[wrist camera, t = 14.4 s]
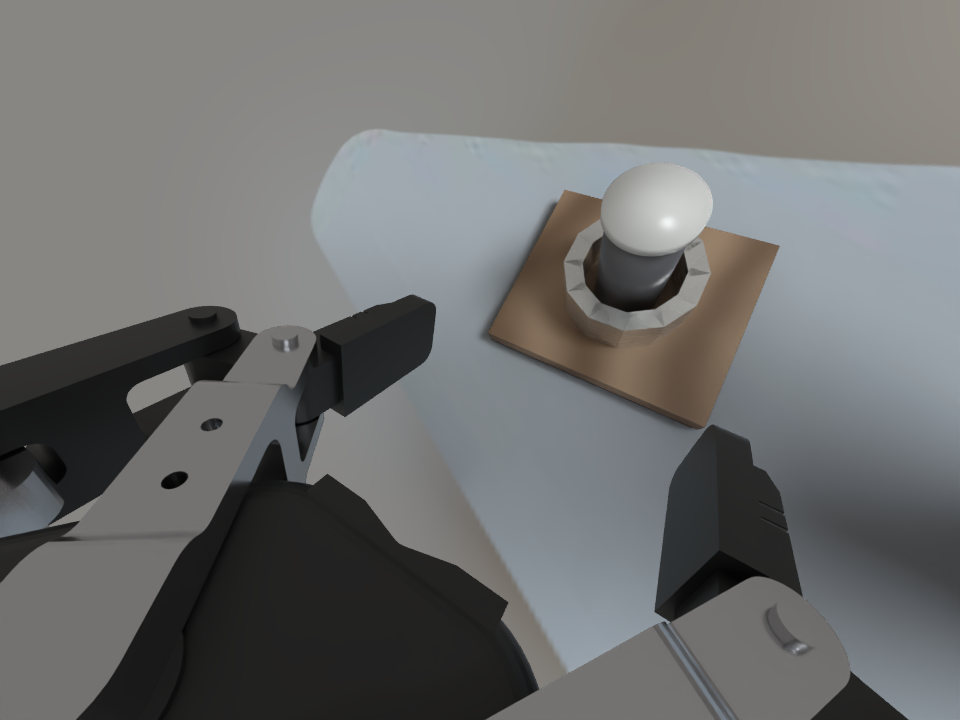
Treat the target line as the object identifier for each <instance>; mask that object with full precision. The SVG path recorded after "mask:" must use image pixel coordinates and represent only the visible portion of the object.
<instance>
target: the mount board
mask: <svg viewBox="0 0 960 720" xmlns="http://www.w3.org/2000/svg"><path fill="white" fill-rule="evenodd" d="M601 205H602V199H598V198H594V197H590V196H586V195H583V194H579V193H575V192H571V191H567V190H564V192H563V194H562V196H561V198H560V200H559V202H558V203H557V205H556V207H555V209H554V211H553V213H552V215H551V216H550V218H549V220H548V222H547V224H546V226H545V228H544V230H543V231H542V233H541V235H540V237H539V239H538V241H537V243H536V244H535V246H534V248H533V250H532V252H531V254H530V256H529V257H528V259H527V261H526V263H525V265H524V267H523V269H522V270H521V272H520V274H519V276H518V278H517V280H516V282H515V283H514V285H513V287H512V289H511V291H510V293H509V295H508V296H507V298H506V300H505V302H504V304H503V306H502V308H501V310H500V311H499V313H498V315H497V317H496V319H495V321H494V323H493V324H492V326H491V328H490V330H489V332H488V334H489V335H490V337H491V339H492V340H495V341H497V342H499V343H501V344H504V345H506V346H508V347H511V348H513V349H515V350H517V351H520V352H522V353H524V354H526V355H529V356H531V357H533V358H536V359H538V360H540V361H542V362H545V363H547V364H549V365H551V366H554V367H556V368H558V369H561V370H563V371H565V372H567V373H570V374H572V375H574V376H576V377H579V378H581V379H583V380H585V381H588V382H590V383H592V384H595V385H597V386H599V387H601V388H604V389H606V390H608V391H610V392H613V393H615V394H617V395H620V396H622V397H624V398H626V399H629V400H631V401H633V402H635V403H638V404H640V405H642V406H645V407H647V408H649V409H651V410H654V411H656V412H658V413H660V414H663V415H665V416H667V417H670V418H672V419H674V420H676V421H679V422H681V423H683V424H685V425H688V426H690V427H692V428H694V429H701V428H704V427H705V426H706V424H707V421H708V419H709V416H710V414H711V411H712V409H713V407H714V404H715V402H716V399H717V397H718V394H719V392H720V390H721V387H722V385H723V382H724V380H725V378H726V375H727V373H728V370H729V368H730V365H731V363H732V361H733V358H734V356H735V353H736V351H737V348H738V346H739V344H740V341H741V339H742V336H743V334H744V331H745V329H746V327H747V324H748V322H749V319H750V317H751V314H752V312H753V310H754V307H755V305H756V302H757V300H758V297H759V295H760V293H761V290H762V288H763V285H764V283H765V280H766V278H767V276H768V273H769V271H770V268H771V266H772V263H773V261H774V259H775V256H776V254H777V251H778V249H779V246H778V245H774V244H771V243H767V242H763V241H759V240H755V239H751V238H747V237H744V236H740V235H736V234H732V233H728V232H724V231H721V230H717V229H713V228H709V227H704V229H703V231H702V232H701V234H700V235H699V236H698V237H699V238H700V239H701V240H702V241H703V243H704V247H705V251H706V255H707V259H708V263H709V268H710V272H711V275H710V277H709V279H708V281H707V284H706V286H705V288H704V290H703V293H702V295H701V297H700V300H699V302H698V304H697V306H696V307H695V308H694V310H693V311H692V312H691V313H690V315H689V316H688V317H687V318H686V320H685V321H684V322H683V323H682V325H681V326H680V327H679V328H677V329H676V330H674V331H673V332H671V333H669V334H668V335H666V336H665V337H663V338H662V339H660V340H659V341H657V342H656V343H654V344H653V345H649V346H638V347H627V348H614V347H612V346H609V345H607V344H604V343H602V342H599V341H597V340H594V339H592V338H589V337H587V336H585V335H584V333H583V332H582V331H581V330H580V328H579V327H578V326H577V325H576V324H575V322H574V321H573V320H572V319H571V317H570V316H569V315H568V314H567V308H566V299H565V289H564V260H565V258H566V256H567V254H568V252H569V250H570V249H571V247H572V245H573V243H574V241H575V239H576V237H577V235H578V233H580V232H581V231H583V230H584V229H586V228H587V227H589V226H590V225H592V224H593V223H595V222H596V221H598V220H599V219H600V214H601ZM597 269H598V264H597V265H595V266H594V267H592V268H591V269H590V270H589V272H588V274H587V276H586V278H585V285H586V286H587V287H588V289H589V290H590V291H591V292H592V293H593V294H594V288H595V282H596V276H597ZM672 297H673V296H672V291H671V286H670V281H669V280H668V281H667V283H666V285H665V287H664V289H663V291H662V292H661V294H660V296H659V298H658V300H657V302H656V303H655V305H654V307H653V308H652V310H654V309H657V308H658V307H660V306H661V305H663V304H664V303H666V302H667V301H669V300H670V299H672Z"/></svg>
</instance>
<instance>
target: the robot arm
mask: <svg viewBox="0 0 960 720" xmlns="http://www.w3.org/2000/svg"><path fill="white" fill-rule="evenodd" d="M435 316H436V307H435V305H434V304H433V303H432V302H429V301H427V300H425V299H422V298H420V297H418V296H415V295H409V296H406V297H404V298H402V299H399V300H397V301H395V302H392V303H387V304H381V305H376V306H374V307H371V308H369V309H366V310H364V312H359V313H357V314H355V315H353V316H352V317H347V318H345V319H343V320H340V321H338V322H335V323H333V324H331V325H328V326H326V327H324V328H321V329H319V330H317V331H314V332H312V331H311V330H308V329H306V328H303V327H299V326H278V327H273V328H270V329H267V330H264V331H262V332H260V333H259V334H257V333H253V332H249V331H245V330H241V329H240V328H239V323H238V320H237V315H236V313H235V312H234V311H232V310H231V309H228V308H224V307H218V306H201V307H194V308H190V309H186V310H182V311H179V312H176V313H173V314H169V315H166V316H163V317H159V318H156V319H153V320H150V321H146V322H143V323H140V324H136V325H133V326H130V327H127V328H123V329H120V330H117V331H113V332H110V333H107V334H104V335H100V336H97V337H93V338H90V339H87V340H84V341H81V342H77V343H74V344H71V345H67V346H64V347H61V348H57V349H54V350H51V351H47V352H44V353H41V354H37V355H34V356H31V357H28V358H24V359H21V360H18V361H15V362H11V363H8V364H5V365H1V366H0V720H908V719H907V718H906V717H904V716H903V715H902V714H901V713H900V712H898V711H897V710H896V709H895V708H894V707H892V706H891V705H890V704H889V703H888V702H886V701H885V700H884V699H883V698H882V697H880V696H879V695H878V694H877V693H876V692H874V691H873V690H872V689H871V688H869V687H868V686H867V685H866V684H865V683H863V682H862V681H861V680H860V679H859V678H858V677H857V676H856V675H854V674H853V673H852V672H851V671H850V664H849V660H848V657H847V654H846V652H845V649H844V647H843V645H842V643H841V641H840V640H839V638H838V636H837V635H836V633H835V632H834V630H833V629H832V627H831V626H830V625H829V623H828V622H827V621H826V620H825V618H824V617H823V616H822V615H821V614H820V613H819V612H818V611H817V610H816V609H815V608H814V607H813V606H812V605H811V604H810V603H809V602H808V601H807V600H805V599H804V598H803V596H802V592H801V587H800V582H799V578H798V573H797V569H796V564H795V560H794V555H793V551H792V546H791V542H790V537H789V534H788V533H786V532H787V530H788V528H787V523H786V519H785V516H783V513H784V510H783V505H782V501H781V496H780V492H779V491H778V489H777V488H776V486H775V485H774V483H773V482H772V480H771V479H770V477H769V476H768V474H767V473H766V471H764V470H762V469H760V468H757V467H755V466H753V460H752V453H751V447H750V442H749V440H748V439H745V438H743V437H741V436H738V435H736V434H734V433H731V432H729V431H727V430H725V429H722V428H720V427H718V426H715V425H711V426H709V427H708V428H707V429H706V430H705V432H704V433H703V434H702V436H701V437H700V438H699V440H698V441H697V442H696V444H695V445H694V446H693V448H692V449H691V450H690V452H689V453H688V455H687V456H686V457H685V459H684V460H683V461H682V463H681V464H680V465H679V467H678V468H677V470H676V472H675V474H674V476H673V478H672V481H671V484H670V488H669V495H668V503H667V512H666V520H665V528H664V537H663V545H662V553H661V562H660V570H659V578H658V587H657V595H656V603H655V613H657V614H659V615H660V616H662V617H663V618H665V619H667V620H668V621H670V622H671V623H669V624H666V623H665V622H661V623H659V624H656V625H654V626H652V627H651V628H649V629H647V630H645V631H643V632H641V633H640V634H638V635H636V636H634V637H633V638H631V639H629V640H627V641H625V642H624V643H622V644H620V645H618V646H616V647H615V648H613V649H611V650H609V651H607V652H606V653H604V654H602V655H600V656H599V657H597V658H595V659H593V660H591V661H590V662H588V663H586V664H584V665H582V666H581V667H579V668H577V669H575V670H573V671H572V672H570V673H568V674H566V675H565V676H563V677H561V678H559V679H557V680H556V681H554V682H552V683H550V684H548V685H547V686H545V687H543V688H541V689H539V687H538V684H537V682H536V679H535V677H534V674H533V671H532V669H531V666H530V664H529V662H528V660H527V658H526V656H525V654H524V653H523V650H522V649H521V647H520V645H519V644H518V642H517V640H516V639H515V637H514V636H513V634H512V633H511V632H510V630H509V629H508V628H507V626H506V625H505V624H504V623H503V621H502V620H501V618H502V616H503V613H504V611H505V608H506V607H507V604H508V602H507V601H506V600H504V599H503V598H502V597H500V596H499V595H497V594H496V593H494V592H493V591H492V590H490V589H489V588H487V587H486V586H485V585H483V584H482V583H480V582H479V581H478V580H476V579H475V578H473V577H472V576H471V575H469V574H468V573H466V572H465V571H464V570H462V569H461V568H459V567H458V566H456V565H454V564H451V563H448V562H446V561H443V560H440V559H438V558H435V557H432V556H429V555H427V554H424V553H421V552H418V551H415V550H413V549H410V548H407V547H405V546H403V545H401V544H399V543H398V542H397V541H396V540H395V539H394V538H393V537H392V535H391V534H390V533H389V531H388V530H387V529H386V528H385V526H384V525H383V523H382V522H381V521H380V519H379V518H378V517H377V516H376V514H375V513H374V512H373V510H372V509H371V508H370V506H369V505H368V504H367V502H366V501H365V500H364V499H362V498H361V497H359V496H358V495H356V494H355V493H354V492H352V491H351V490H350V489H348V488H347V487H345V486H344V485H343V484H341V483H339V482H338V481H337V480H335V479H334V478H333V477H331V476H330V475H328V474H327V475H325V476H324V477H323V478H322V479H320V480H319V481H318V482H317V483H315V484H314V485H310V484H306V477H307V472H308V469H309V466H310V463H311V459H312V456H313V453H314V450H315V446H316V444H317V441H318V437H319V434H320V431H321V428H322V425H323V422H324V412H325V411H326V410H328V409H329V408H331V409H333V410H334V411H336V412H338V413H339V414H341V415H342V416H344V417H346V416H347V415H349V414H350V413H352V412H353V411H354V410H356V409H357V408H359V407H360V406H362V405H363V404H365V403H366V402H367V401H369V400H370V399H372V398H373V397H374V396H376V395H377V394H379V393H381V392H382V391H383V390H385V389H386V388H388V387H389V386H390V385H392V384H394V383H395V382H396V381H398V380H399V379H401V378H402V377H404V376H405V375H407V374H408V373H409V372H411V371H412V370H414V369H415V368H417V367H418V366H420V365H421V364H422V363H424V362H425V360H426V359H427V358H428V356H429V354H430V352H431V349H432V342H433V333H434V325H435ZM183 364H184V366H185V369H186V371H187V374H188V377H189V380H190V383H191V387H189V388H187V389H185V390H183V391H180V392H178V393H176V394H174V395H172V396H170V397H168V398H165V399H163V400H161V401H159V402H157V403H155V404H153V405H150V406H148V407H146V408H144V409H142V410H140V411H138V412H135V413H133V414H132V412H131V410H130V408H129V406H128V404H127V401H126V398H127V394H128V392H129V391H130V390H131V389H132V387H134V386H135V385H136V384H138V383H140V382H142V381H144V380H147V379H149V378H152V377H154V376H156V375H159V374H161V373H164V372H166V371H169V370H171V369H173V368H176V367H178V366H181V365H183ZM26 445H27V446H26ZM24 446H26V448H25V447H24ZM100 495H101V496H100ZM98 496H100V498H99V499H98V500H97V501H96V503H95V504H94V505H93V506H92V507H91V509H90V510H89V511H88V512H87V513H86V515H85V516H84V517H83V518H82V519H81V521H77V522H72V523H67V524H62V525H58V526H53V527H49V525H50V524H52V523H54V522H55V521H57V520H59V519H61V518H62V517H64V516H65V515H67V514H69V513H71V512H72V511H74V510H76V509H78V508H80V507H81V506H83V505H85V504H86V503H88V502H90V501H92V500H93V499H95V498H97V497H98Z"/></svg>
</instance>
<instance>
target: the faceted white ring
mask: <svg viewBox="0 0 960 720" xmlns="http://www.w3.org/2000/svg"><path fill="white" fill-rule="evenodd" d="M603 232H604V231H603V228H602V225H601V219H599V220H598V221H596V222H595V223H593V224H592V225H590V226H589V227H587V228H586V229H584V230H583V231H581V232H580V233H578V235H577V237H576V239H575V241H574V243H573V245H572V247H571V249H570V250H569V252H568V254H567V256H566V258H565V260H564V289H565V299H566V308H567V314H568V315H569V316H570V317H571V319H572V320H573V321H574V322H575V324H576V325H577V326H578V327H579V328H580V330H581V331H582V332H583V333H584V335H585V336H587V337H589V338H592V339H594V340H597V341H599V342H602V343H604V344H607V345H609V346H612V347H614V348H627V347H638V346H649V345H653V344H654V343H656V342H657V341H659V340H660V339H662V338H663V337H665V336H666V335H668V334H669V333H671V332H673V331H674V330H676V329H677V328H679V327H680V326H681V325H682V323H683V322H684V321H685V320H686V318H687V317H688V316H689V315H690V313H691V312H692V311H693V310H694V308H695V307H696V306H697V304H698V302H699V300H700V297H701V295H702V293H703V290H704V288H705V286H706V284H707V281H708V279H709V277H710V275H711V272H710V268H709V263H708V259H707V255H706V251H705V247H704V243H703V241H702V240H701V239H700V238H699V237H698V238H696V239H695V240H694V241H693V242H692V243H691V244H690V245H688V246H687V247H686V248H685V250H684V252H683V254H682V256H681V257H680V259H679V261H678V263H677V265H676V267H675V269H674V270H673V272H672V274H671V276H670V278H669V281H670V286H671V291H672V296H673V297H672V299H670V300H669V301H667V302H666V303H664V304H663V305H661V306H660V307H658V308H657V309H654V310H645V311H636V312H624V311H621V310H619V309H616V308H613V307H610V306H607V305H605V304H602V303H601V302H600V301H599V300H598V299H597V298H596V297H595V296H594V294H593V293H592V292H591V291H590V290H589V289H588V287H587V286H586V285H585V278H586V276H587V274H588V272H589V270H590V269H591V268H592V267H594V266H595V265H597V264H598V263H599V257H600V250H601V244H602V238H603Z"/></svg>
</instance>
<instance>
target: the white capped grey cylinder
mask: <svg viewBox="0 0 960 720" xmlns="http://www.w3.org/2000/svg"><path fill="white" fill-rule="evenodd" d="M712 208H713V199H712V194H711V192H710V189H709V187H708V185H707V184H706V183H705V181H704V180H703V179H702V178H701V177H700V176H699V175H697V174H696V173H695V172H693V171H691V170H689V169H688V168H685V167H682V166H679V165H675V164H670V163H651V164H645V165H641V166H638V167H635V168H632V169H630V170H628V171H626V172H625V173H623V174H621V175H620V176H619V177H618V178H616V179H615V180H614V181H613V182H612V183H611V185H610V186H609V187H608V189H607V190H606V192H605V194H604V197H603V200H602V205H601V214H600V219H601V225H602V228H603V231H604V232H603V238H602V244H601V250H600V257H599V263H598V269H597V276H596V282H595V288H594V296H595V297H596V298H597V299H598V300H599V301H600V302H601V303H602V304H605V305H607V306H610V307H613V308H616V309H619V310H621V311H624V312H636V311H645V310H652V308H653V307H654V305H655V303H656V302H657V300H658V298H659V296H660V294H661V292H662V291H663V289H664V287H665V285H666V283H667V281H668V280H669V278H670V276H671V274H672V272H673V270H674V269H675V267H676V265H677V263H678V261H679V259H680V257H681V256H682V254H683V252H684V250H685V248H686V247H687V246H688V245H690V244H691V243H692V242H693V241H694V240H695V239H696V238H698V236H699V235H700V234H701V232H702V231H703V229H704V227H705V226H706V224H707V222H708V220H709V219H710V216H711V213H712Z"/></svg>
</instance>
